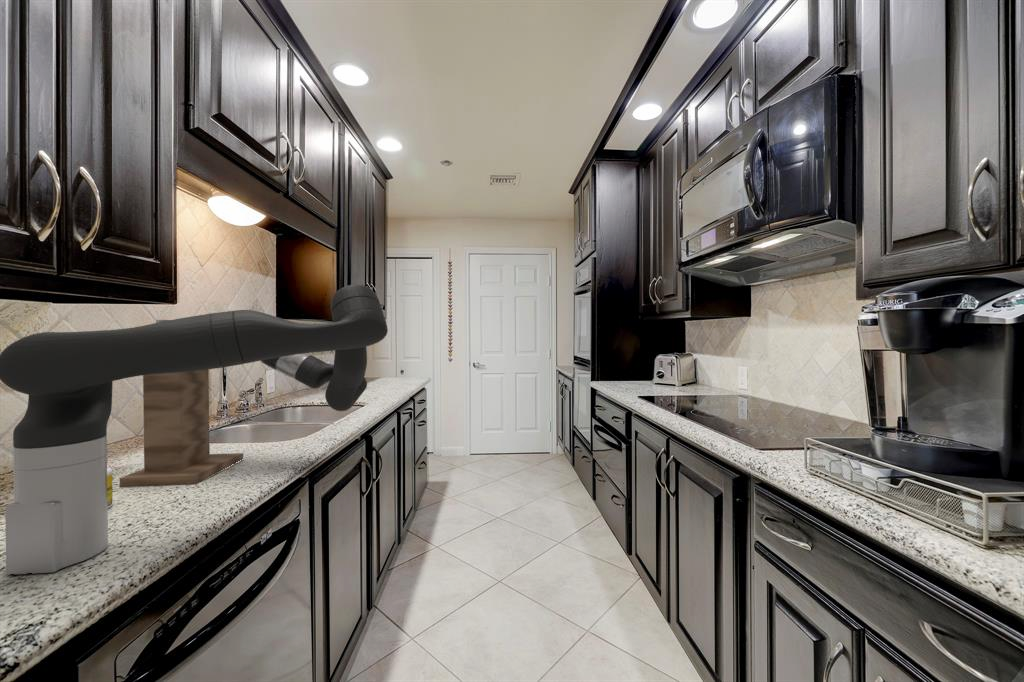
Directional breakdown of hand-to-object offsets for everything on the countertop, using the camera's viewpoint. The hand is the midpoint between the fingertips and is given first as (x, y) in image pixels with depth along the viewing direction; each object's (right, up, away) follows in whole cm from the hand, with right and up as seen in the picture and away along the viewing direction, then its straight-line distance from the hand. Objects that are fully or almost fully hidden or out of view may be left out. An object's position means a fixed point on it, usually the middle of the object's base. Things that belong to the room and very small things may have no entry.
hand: (224, 324), depth 100 cm
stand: (-9, -36, -1) cm, 37 cm away
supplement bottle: (-9, -37, -23) cm, 44 cm away
